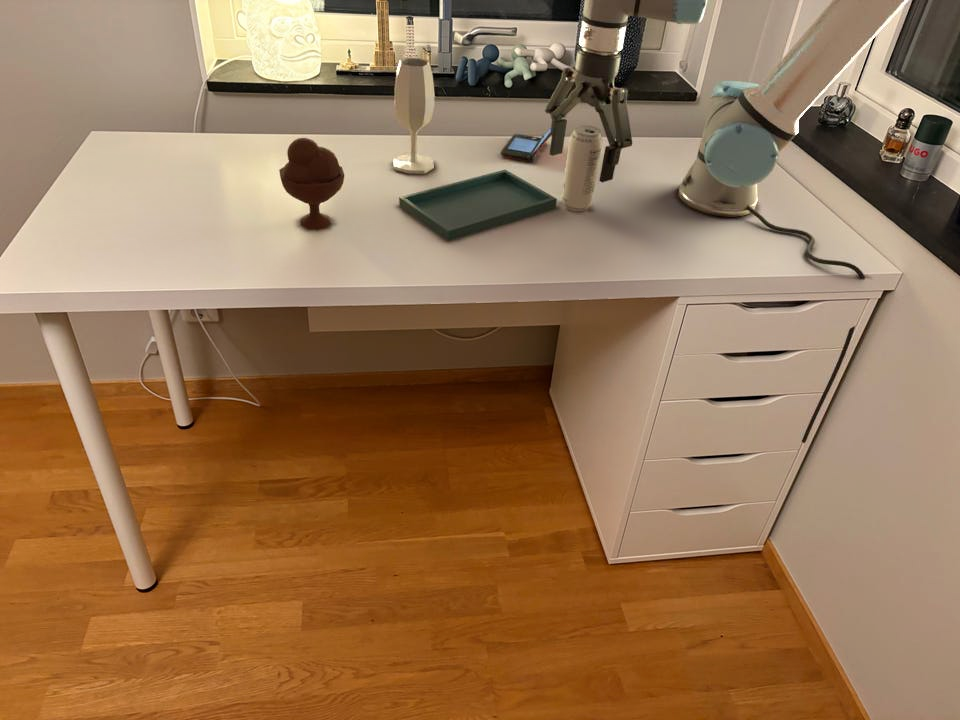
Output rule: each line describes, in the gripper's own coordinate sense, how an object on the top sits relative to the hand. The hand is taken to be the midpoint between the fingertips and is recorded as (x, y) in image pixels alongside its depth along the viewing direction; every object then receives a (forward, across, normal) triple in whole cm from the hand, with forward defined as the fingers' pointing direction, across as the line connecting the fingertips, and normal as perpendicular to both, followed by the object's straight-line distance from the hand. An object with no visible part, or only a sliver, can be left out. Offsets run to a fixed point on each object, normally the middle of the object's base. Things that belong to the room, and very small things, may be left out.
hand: (580, 166), depth 142 cm
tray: (+8, -9, -17) cm, 20 cm away
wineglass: (+9, -31, -17) cm, 36 cm away
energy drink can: (+8, 0, 0) cm, 8 cm away
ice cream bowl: (+9, -19, -46) cm, 50 cm away
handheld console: (+8, -25, +10) cm, 28 cm away
